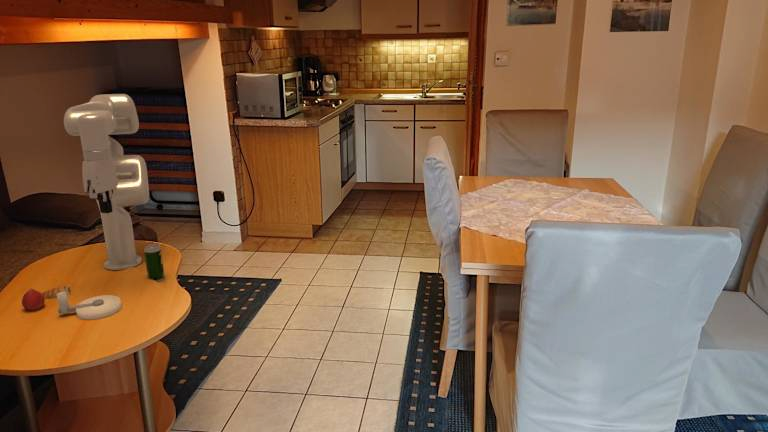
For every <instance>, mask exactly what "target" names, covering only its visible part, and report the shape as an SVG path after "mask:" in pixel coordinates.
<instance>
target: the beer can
mask: <svg viewBox="0 0 768 432" xmlns="http://www.w3.org/2000/svg"><path fill="white" fill-rule="evenodd" d="M143 252H144V258H145V259H144V261H145V266H146V274H147V279H149V280H153V281H155V282H156V283H158V282H162V281H163V280H164V279H165V269H164V261H163V254H162V253H163V252H162V248H161V245H160V244H157V243H156V244H155V243H153V244H148V245H146V246H145V247H144V250H143Z"/></svg>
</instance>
